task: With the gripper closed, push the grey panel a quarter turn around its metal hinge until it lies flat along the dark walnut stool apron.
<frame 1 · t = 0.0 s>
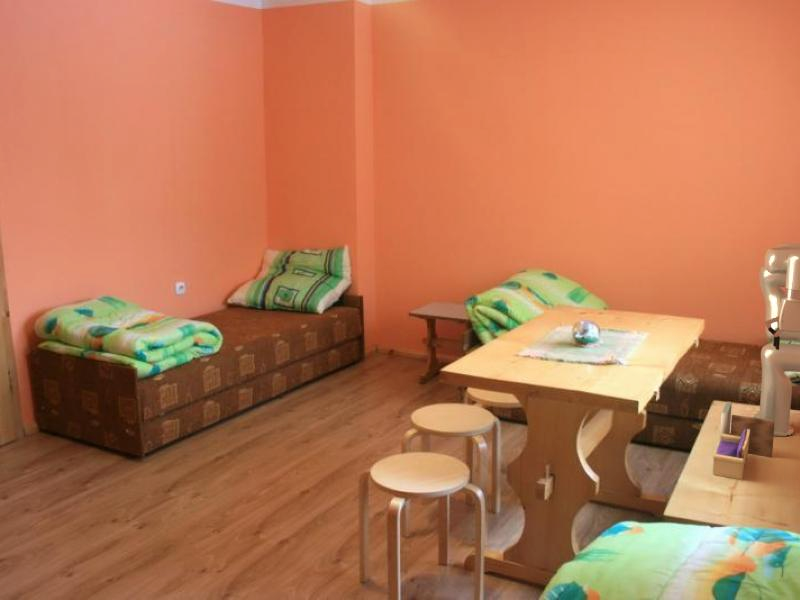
hand: (794, 350, 218), 37 cm above the table, tool pointing down, fingers open, 9 cm apart
stool apron: (750, 453, 235), on the table
grey panel: (725, 423, 246), point 6 cm above the table, hinge at 0.0°
toy sofa: (730, 466, 225), on the table
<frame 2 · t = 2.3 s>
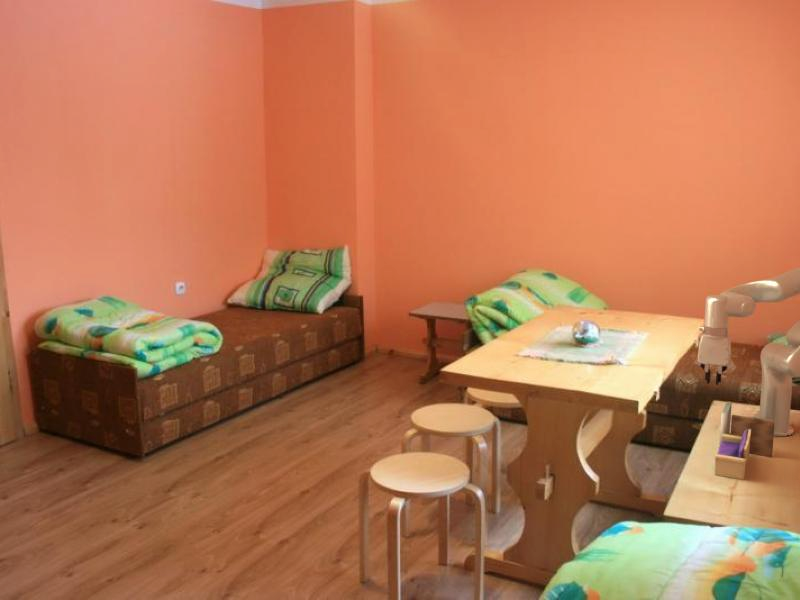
hand: (712, 382, 247), 19 cm above the table, tool pointing down, fingers closed
nothing on the table moved.
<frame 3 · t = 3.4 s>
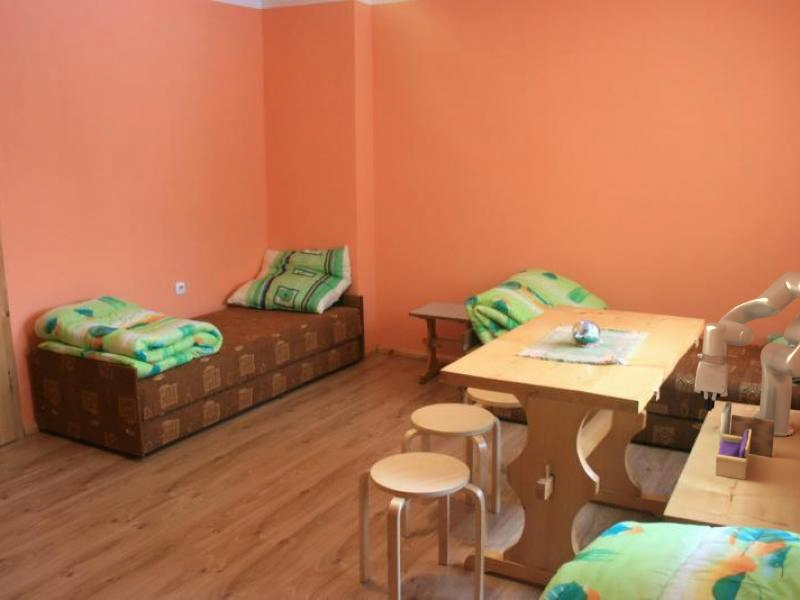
hand: (709, 410, 249), 9 cm above the table, tool pointing down, fingers closed
nothing on the table moved.
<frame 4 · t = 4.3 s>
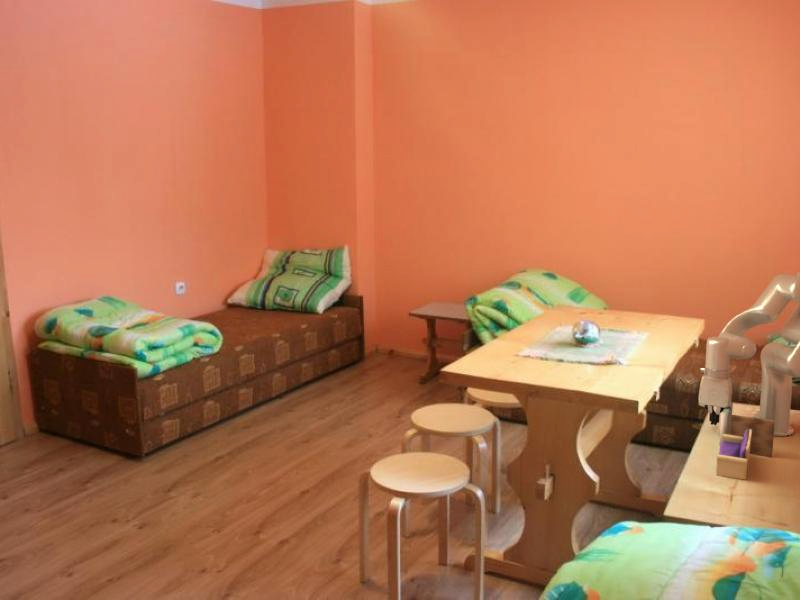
hand: (714, 423, 249), 5 cm above the table, tool pointing down, fingers closed
grey panel: (726, 423, 246), point 6 cm above the table, hinge at 1.6°, touching gripper
everything else where it was.
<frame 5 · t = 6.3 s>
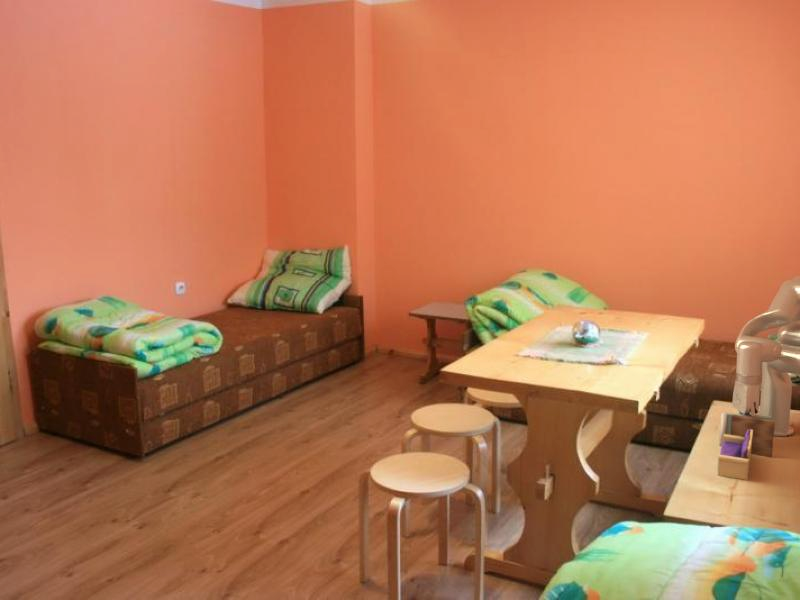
hand: (744, 430, 242), 5 cm above the table, tool pointing down, fingers closed
grey panel: (744, 431, 238), point 6 cm above the table, hinge at 77.6°, touching gripper
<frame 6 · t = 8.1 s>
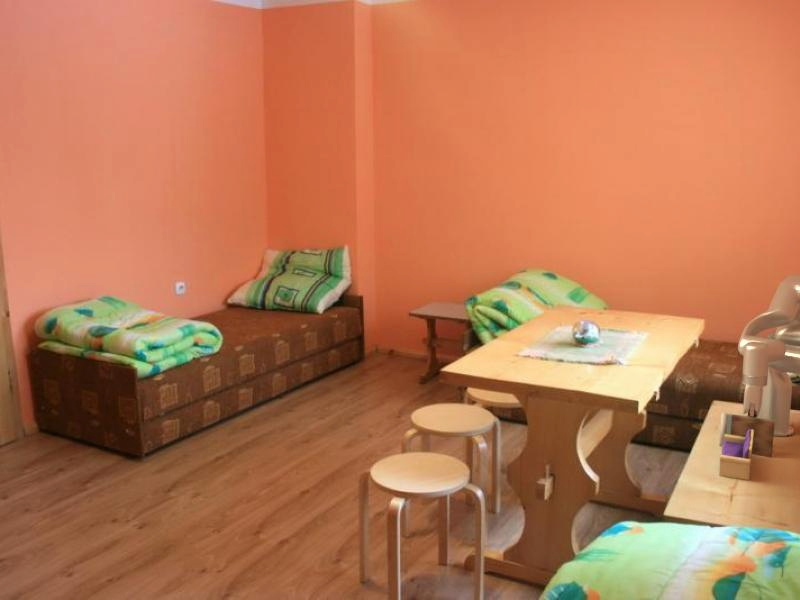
hand: (751, 431, 241), 5 cm above the table, tool pointing down, fingers closed
grey panel: (744, 432, 237), point 6 cm above the table, hinge at 90.9°
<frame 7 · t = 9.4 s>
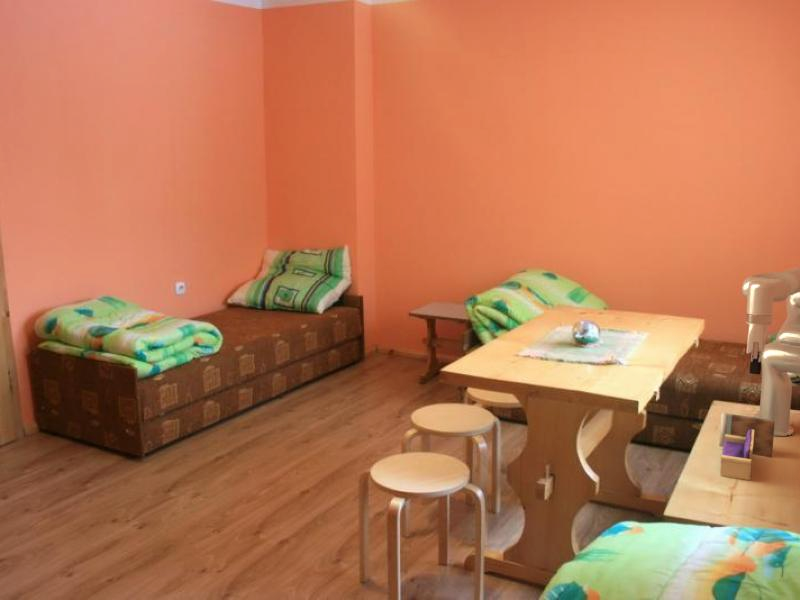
hand: (755, 373, 237), 25 cm above the table, tool pointing down, fingers closed
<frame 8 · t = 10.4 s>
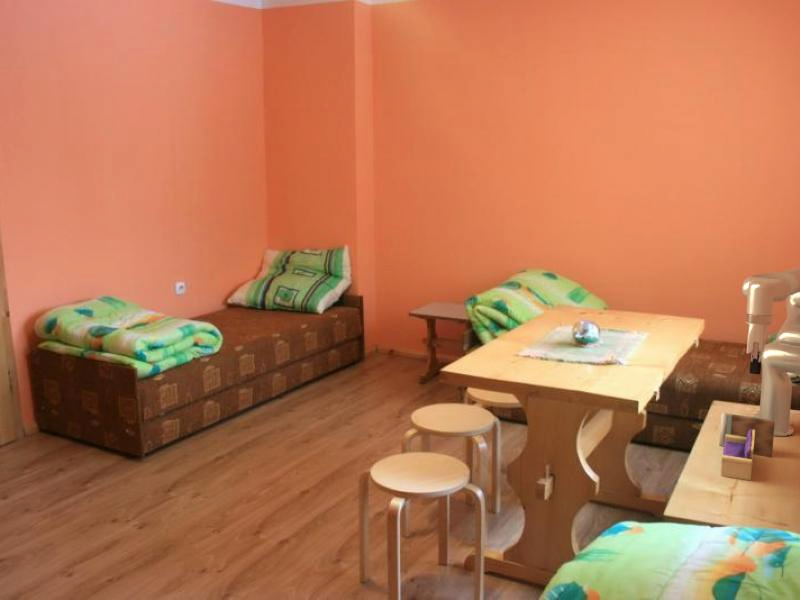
hand: (755, 373, 237), 25 cm above the table, tool pointing down, fingers closed
at the end: grey panel at +91° (first picture: +0°); toy sofa moved 2.0 cm from its start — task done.
